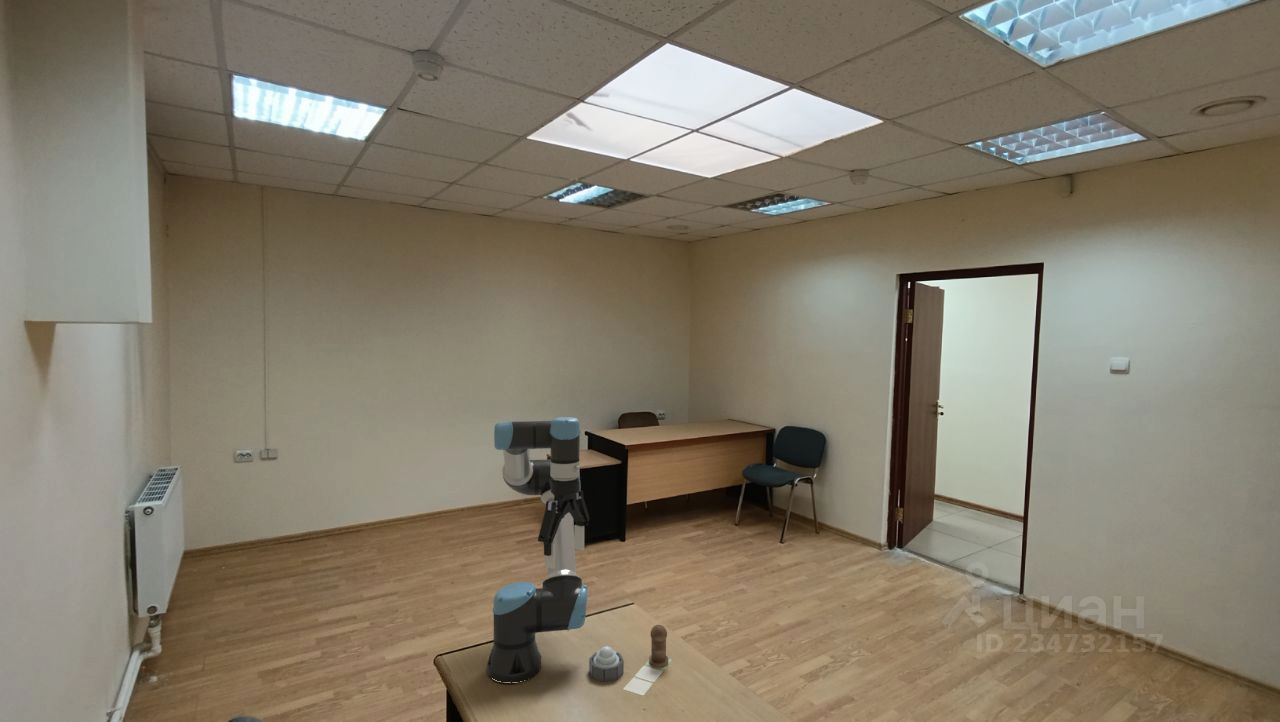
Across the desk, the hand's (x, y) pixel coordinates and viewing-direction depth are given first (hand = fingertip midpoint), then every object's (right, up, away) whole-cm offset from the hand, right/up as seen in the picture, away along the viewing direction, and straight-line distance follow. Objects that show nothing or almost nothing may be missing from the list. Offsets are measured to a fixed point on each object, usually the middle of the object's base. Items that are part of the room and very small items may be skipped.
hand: (565, 558), depth 150 cm
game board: (+22, -37, +10) cm, 44 cm away
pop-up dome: (+10, -34, +11) cm, 37 cm away
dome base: (+10, -36, +11) cm, 39 cm away
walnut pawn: (+25, -35, +15) cm, 46 cm away
